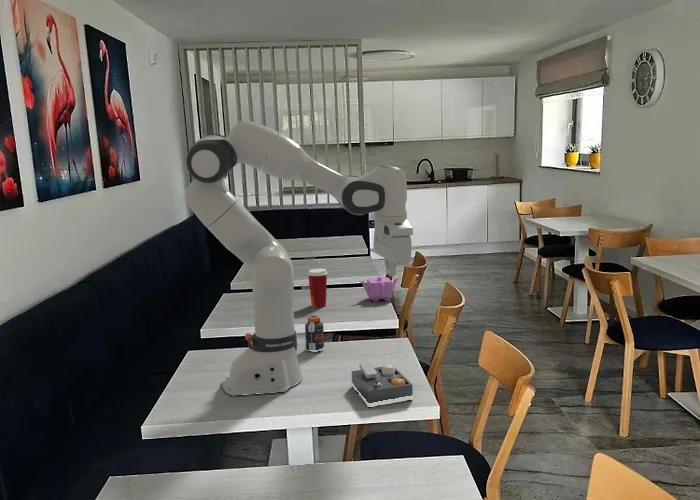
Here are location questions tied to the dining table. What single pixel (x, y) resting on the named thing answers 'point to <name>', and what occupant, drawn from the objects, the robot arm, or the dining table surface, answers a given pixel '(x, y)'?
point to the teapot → (379, 288)
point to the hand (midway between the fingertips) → (390, 274)
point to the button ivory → (388, 370)
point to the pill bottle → (314, 333)
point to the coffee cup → (318, 287)
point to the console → (380, 386)
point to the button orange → (397, 381)
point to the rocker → (368, 370)
